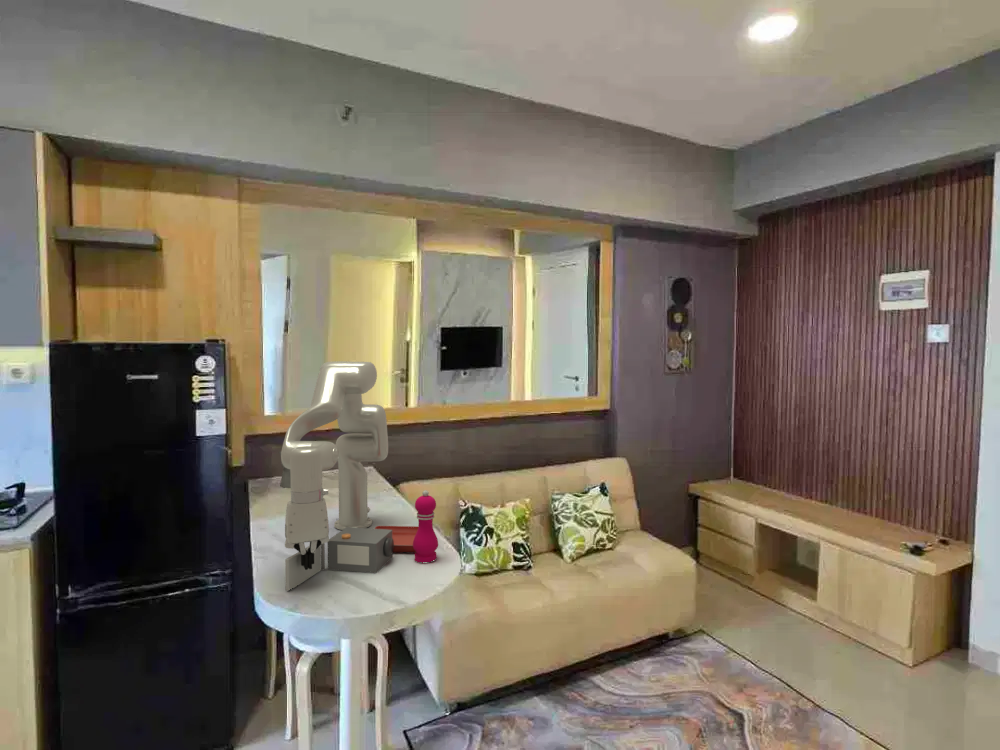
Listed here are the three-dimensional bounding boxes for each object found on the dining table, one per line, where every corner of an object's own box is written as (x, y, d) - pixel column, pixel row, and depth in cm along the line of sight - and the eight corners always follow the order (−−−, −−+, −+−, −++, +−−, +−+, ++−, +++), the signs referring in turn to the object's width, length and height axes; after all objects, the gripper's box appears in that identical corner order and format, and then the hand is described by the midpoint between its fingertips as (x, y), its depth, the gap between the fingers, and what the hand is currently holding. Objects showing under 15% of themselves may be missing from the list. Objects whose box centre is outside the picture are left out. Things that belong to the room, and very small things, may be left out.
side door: (325, 568, 151) (325, 540, 151) (290, 591, 136) (290, 559, 136) (320, 567, 151) (320, 539, 151) (285, 590, 137) (285, 559, 136)
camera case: (347, 553, 163) (346, 524, 162) (396, 557, 160) (396, 527, 160) (327, 569, 151) (327, 537, 150) (380, 573, 148) (380, 541, 148)
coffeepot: (271, 486, 245) (271, 446, 244) (286, 482, 254) (286, 443, 253) (300, 489, 240) (299, 448, 239) (314, 484, 249) (314, 445, 248)
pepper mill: (414, 565, 154) (414, 494, 153) (411, 556, 161) (411, 488, 160) (440, 562, 156) (440, 492, 155) (435, 553, 163) (435, 486, 162)
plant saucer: (431, 535, 181) (431, 525, 180) (424, 555, 162) (424, 544, 162) (376, 535, 180) (376, 525, 180) (362, 555, 162) (362, 544, 162)
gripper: (334, 489, 146) (334, 557, 147) (273, 496, 139) (274, 567, 140) (340, 496, 139) (340, 567, 140) (276, 503, 132) (277, 578, 133)
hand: (307, 567), depth 140 cm, fingers closed
